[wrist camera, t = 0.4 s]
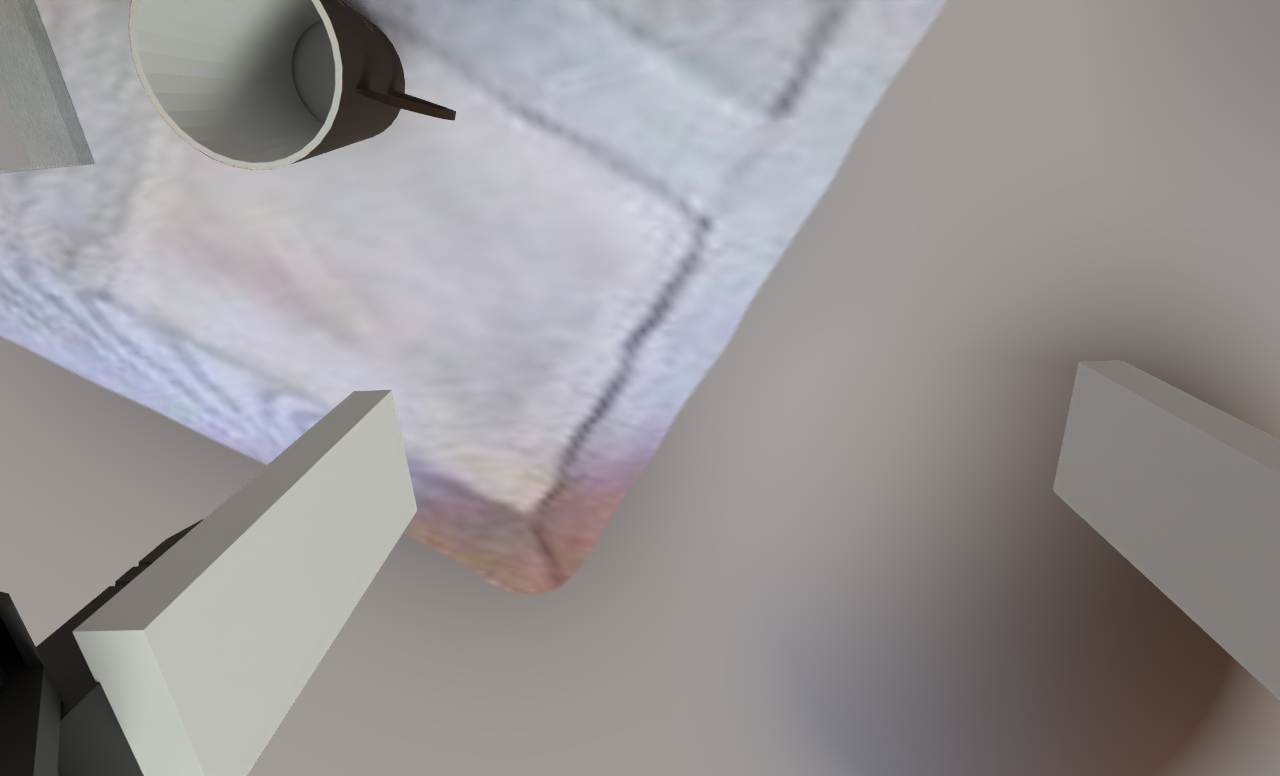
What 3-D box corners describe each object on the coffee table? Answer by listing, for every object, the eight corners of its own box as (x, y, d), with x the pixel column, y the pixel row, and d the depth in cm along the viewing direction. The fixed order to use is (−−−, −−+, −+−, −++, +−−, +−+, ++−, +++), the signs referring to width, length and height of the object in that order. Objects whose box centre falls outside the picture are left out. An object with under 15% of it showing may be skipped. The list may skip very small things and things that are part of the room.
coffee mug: (240, 86, 36) (94, 70, 27) (319, -53, 34) (188, -124, 24) (414, 227, 39) (336, 257, 29) (500, 107, 36) (444, 99, 27)
